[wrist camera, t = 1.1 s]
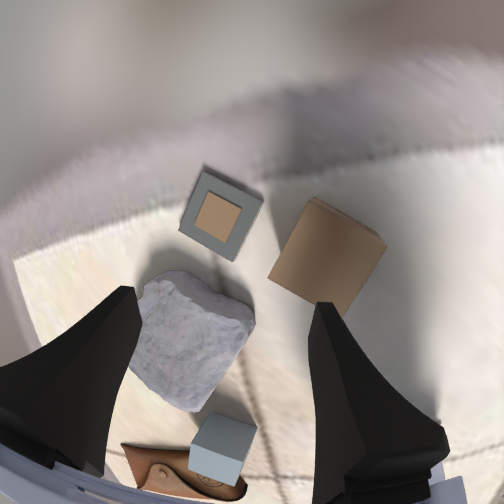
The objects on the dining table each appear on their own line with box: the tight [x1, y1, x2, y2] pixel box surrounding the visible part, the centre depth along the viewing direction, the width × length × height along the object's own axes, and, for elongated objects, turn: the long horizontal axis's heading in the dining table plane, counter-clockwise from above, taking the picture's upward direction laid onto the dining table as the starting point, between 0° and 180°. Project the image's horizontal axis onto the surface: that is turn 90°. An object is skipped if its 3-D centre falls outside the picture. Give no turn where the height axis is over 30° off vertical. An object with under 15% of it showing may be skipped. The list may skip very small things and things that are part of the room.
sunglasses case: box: [121, 444, 248, 502], centre depth 32 cm, size 18×7×7 cm, turn 114°
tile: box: [178, 172, 264, 262], centre depth 23 cm, size 5×5×1 cm
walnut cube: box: [268, 197, 387, 318], centre depth 20 cm, size 5×5×5 cm
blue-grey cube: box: [188, 411, 257, 486], centre depth 26 cm, size 5×5×5 cm
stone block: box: [128, 271, 256, 413], centre depth 26 cm, size 12×5×10 cm
